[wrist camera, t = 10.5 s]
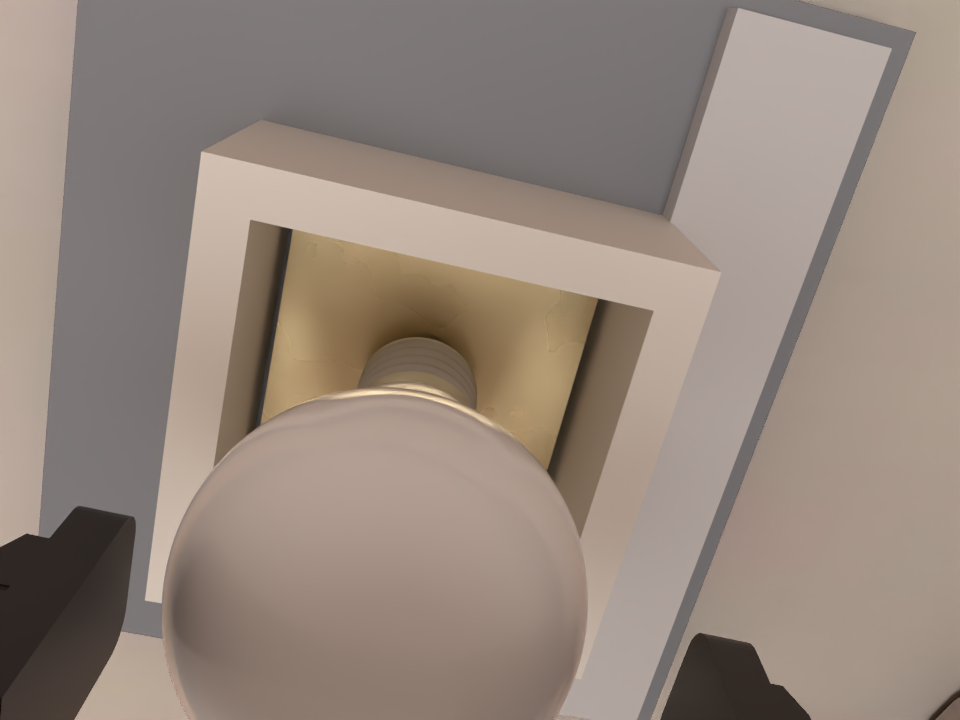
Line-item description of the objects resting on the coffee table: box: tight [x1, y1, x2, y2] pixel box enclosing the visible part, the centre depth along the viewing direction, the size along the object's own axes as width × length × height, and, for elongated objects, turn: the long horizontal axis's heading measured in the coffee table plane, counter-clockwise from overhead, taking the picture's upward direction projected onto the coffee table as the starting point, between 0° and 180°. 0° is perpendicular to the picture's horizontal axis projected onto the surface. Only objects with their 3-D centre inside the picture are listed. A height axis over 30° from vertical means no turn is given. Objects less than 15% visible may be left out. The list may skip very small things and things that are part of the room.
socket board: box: [39, 0, 916, 720], centre depth 21 cm, size 18×20×6 cm
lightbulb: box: [161, 337, 588, 720], centre depth 16 cm, size 6×6×11 cm
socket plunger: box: [260, 229, 598, 471], centre depth 22 cm, size 7×7×2 cm
